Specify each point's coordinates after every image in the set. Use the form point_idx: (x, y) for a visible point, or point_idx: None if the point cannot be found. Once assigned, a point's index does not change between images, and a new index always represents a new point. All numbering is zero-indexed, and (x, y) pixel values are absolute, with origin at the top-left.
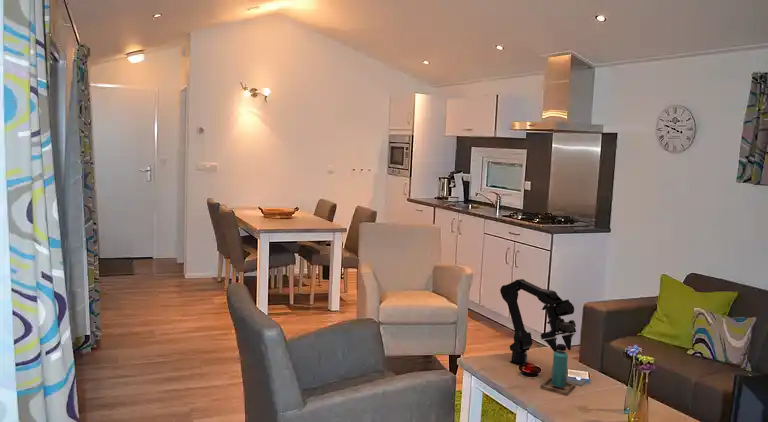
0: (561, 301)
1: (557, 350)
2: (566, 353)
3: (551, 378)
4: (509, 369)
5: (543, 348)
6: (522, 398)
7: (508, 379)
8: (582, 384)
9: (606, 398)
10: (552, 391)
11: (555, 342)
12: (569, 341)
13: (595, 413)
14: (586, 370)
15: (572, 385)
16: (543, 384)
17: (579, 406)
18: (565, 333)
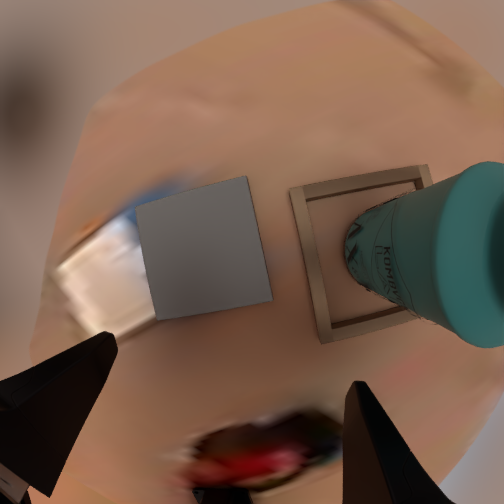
0: None
1: (362, 401)
2: (492, 186)
3: (326, 328)
4: (330, 493)
5: None
6: None
7: (437, 435)
8: (230, 179)
9: (283, 47)
10: None
11: (408, 497)
12: (45, 389)
13: (440, 40)
14: (54, 277)
15: (323, 189)
16: None
17: (452, 91)
18: (3, 487)
